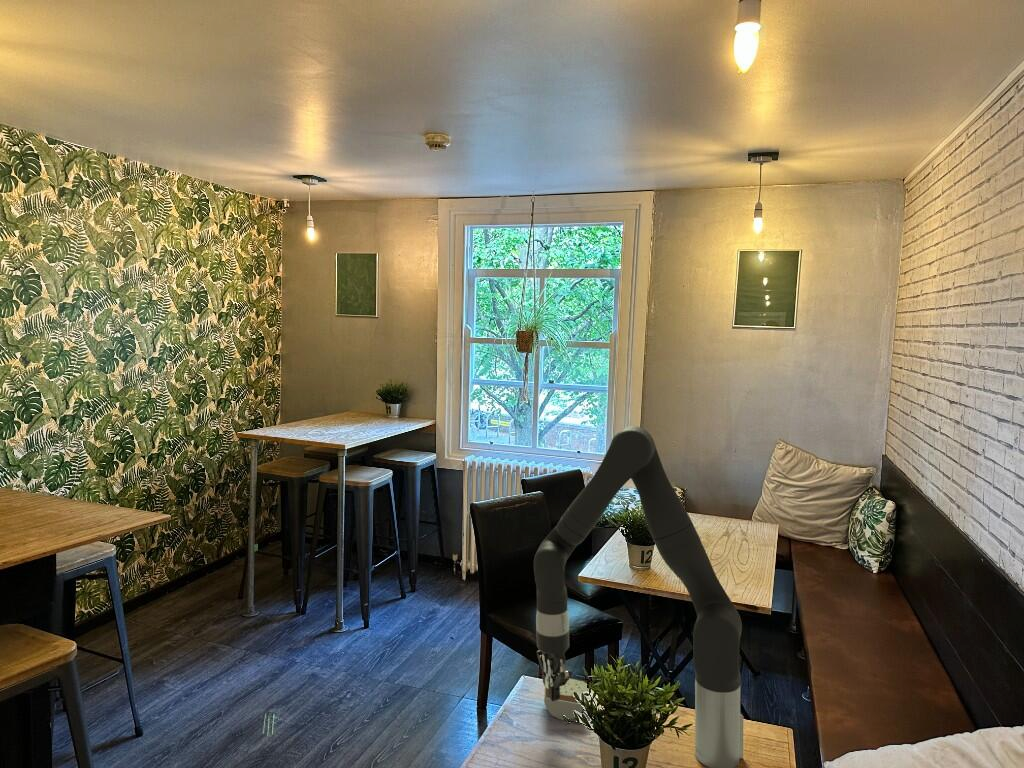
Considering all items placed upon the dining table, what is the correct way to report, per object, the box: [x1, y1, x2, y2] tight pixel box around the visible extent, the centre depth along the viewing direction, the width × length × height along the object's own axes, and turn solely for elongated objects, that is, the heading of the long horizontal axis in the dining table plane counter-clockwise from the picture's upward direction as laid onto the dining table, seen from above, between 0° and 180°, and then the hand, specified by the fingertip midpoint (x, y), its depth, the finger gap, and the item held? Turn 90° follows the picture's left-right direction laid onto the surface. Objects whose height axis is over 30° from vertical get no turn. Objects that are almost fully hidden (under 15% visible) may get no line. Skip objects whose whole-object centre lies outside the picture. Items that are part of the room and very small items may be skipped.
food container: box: [542, 675, 588, 721], centre depth 160 cm, size 12×6×10 cm
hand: (554, 698), depth 152 cm, fingers closed
